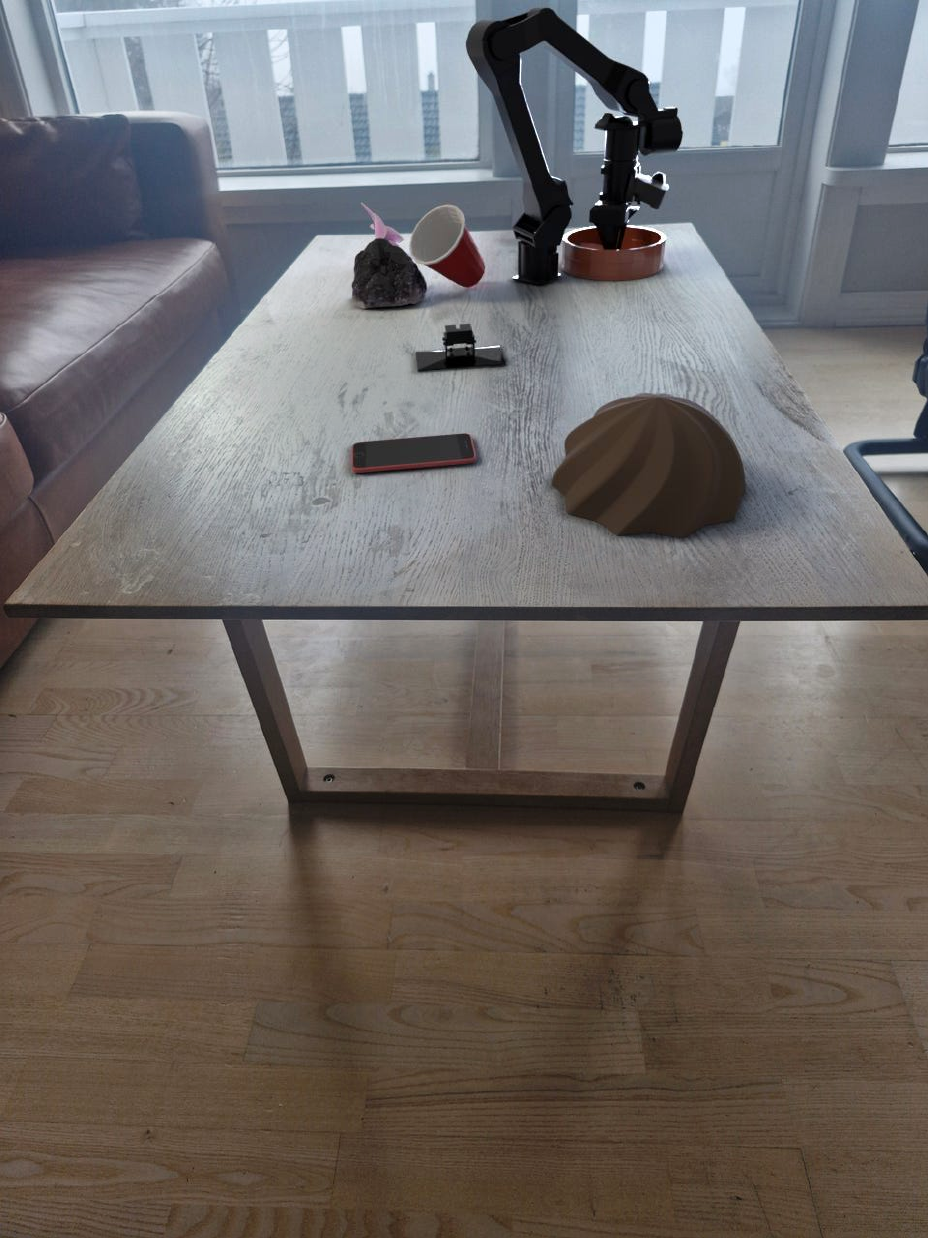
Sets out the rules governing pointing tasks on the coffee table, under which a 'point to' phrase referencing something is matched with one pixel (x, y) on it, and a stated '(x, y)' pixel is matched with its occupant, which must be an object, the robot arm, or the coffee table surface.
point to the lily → (384, 229)
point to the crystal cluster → (386, 277)
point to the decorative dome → (651, 467)
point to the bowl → (614, 255)
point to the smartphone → (412, 453)
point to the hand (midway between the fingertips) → (613, 255)
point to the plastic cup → (447, 246)
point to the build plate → (459, 352)
